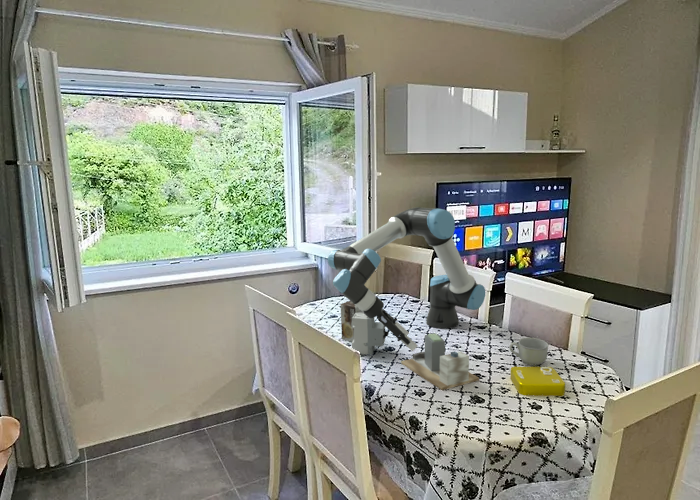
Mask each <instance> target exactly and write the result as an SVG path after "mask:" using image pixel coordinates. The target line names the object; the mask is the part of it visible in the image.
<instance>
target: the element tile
mask: <svg viewBox="0 0 700 500" xmlns="http://www.w3.org/2000/svg"><path fill="white" fill-rule="evenodd" d="M509 379H510V381H511V382H512V384H513V386H514V388H515V389H516V391H517V393H518V394H519V395H522V396H525V395H526V397H527V396H528V397H531V396H532V397H537V396H538V397H539V396H541V397H542V396H543V397H563V396H565V394H566V383H565V381H564V380H563V378H562V377H561V376H560V375H559V373H558V372H557V370H555V369H554V367H551V366H511V368H510V378H509ZM533 395H534V396H533Z"/></svg>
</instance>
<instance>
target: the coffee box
mask: <svg viewBox="0 0 700 500" xmlns="http://www.w3.org/2000/svg"><path fill="white" fill-rule="evenodd" d="M339 305H340V324H341V327H340V328H341V339H342V340H343V341H344V340H345V341H348V342H351V343H352V342H353V340H354V328H352V325H351V323H352V317H353V316H354V314H355V313H363V311H361V310H360V309H359V308H358V307H357V308H355V306H356V305H354V304H353V303H352V302H351V301H350V300H349V301H345V302H343V303H340V304H339Z"/></svg>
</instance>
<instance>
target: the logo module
mask: <svg viewBox="0 0 700 500" xmlns="http://www.w3.org/2000/svg"><path fill="white" fill-rule="evenodd" d="M424 351H425V364H426V365H427V366H428V368H429V369H430V370H431V371H440V356H443V355H446V341H445V340H444V339H443V338H442V337H441V336H440V335H439V334H438V333H436V332H435V333H427V334H424Z"/></svg>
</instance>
